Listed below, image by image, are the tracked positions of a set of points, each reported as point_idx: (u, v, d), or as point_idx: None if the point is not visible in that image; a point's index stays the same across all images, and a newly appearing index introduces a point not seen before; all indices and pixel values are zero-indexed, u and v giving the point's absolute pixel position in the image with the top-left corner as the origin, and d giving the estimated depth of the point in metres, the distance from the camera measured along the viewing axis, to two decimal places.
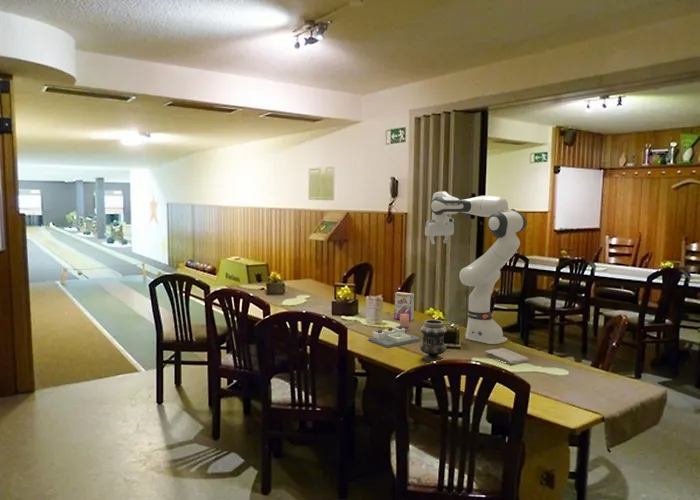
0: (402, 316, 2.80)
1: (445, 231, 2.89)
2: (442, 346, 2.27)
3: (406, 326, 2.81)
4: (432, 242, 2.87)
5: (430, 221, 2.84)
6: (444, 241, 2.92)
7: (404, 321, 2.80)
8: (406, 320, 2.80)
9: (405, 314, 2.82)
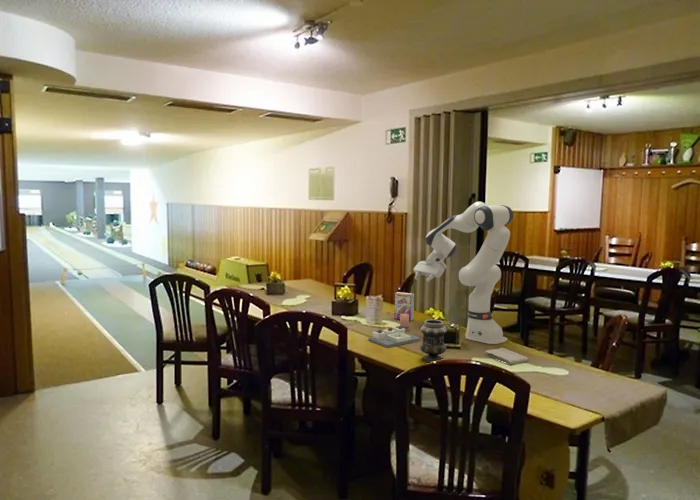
0: (402, 316, 2.80)
1: (429, 269, 2.86)
2: (442, 346, 2.27)
3: (406, 326, 2.81)
4: None
5: (423, 261, 2.97)
6: None
7: (404, 321, 2.80)
8: (406, 320, 2.80)
9: (405, 314, 2.82)
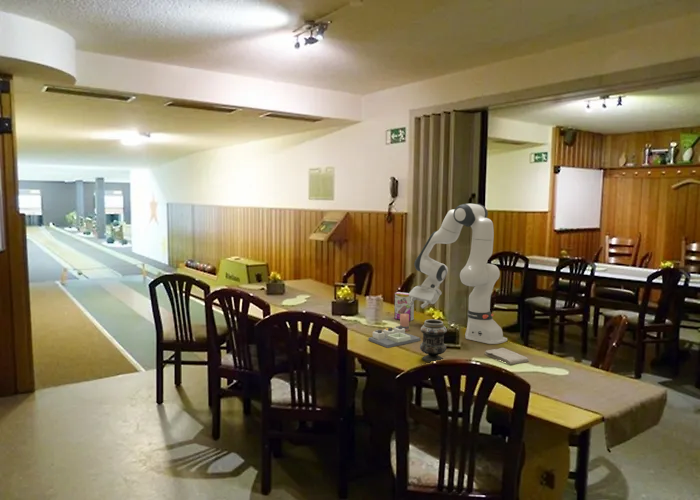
0: (402, 316, 2.80)
1: (424, 295, 2.86)
2: (442, 346, 2.27)
3: (406, 326, 2.81)
4: None
5: (419, 286, 2.97)
6: None
7: (404, 321, 2.80)
8: (406, 320, 2.80)
9: (405, 314, 2.82)
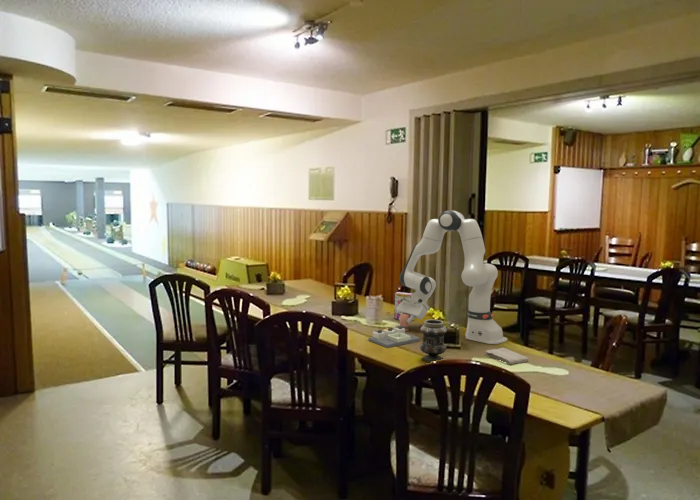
0: (402, 316, 2.80)
1: (411, 310, 2.81)
2: (442, 346, 2.27)
3: (406, 326, 2.81)
4: None
5: (406, 300, 2.92)
6: None
7: (404, 321, 2.80)
8: None
9: (405, 314, 2.82)
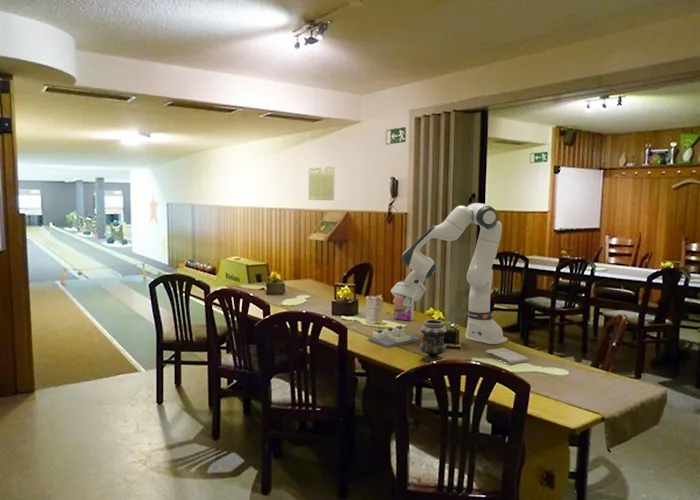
0: (396, 298, 2.58)
1: (407, 291, 2.59)
2: (442, 346, 2.27)
3: (401, 309, 2.59)
4: None
5: (402, 281, 2.70)
6: None
7: (398, 303, 2.58)
8: None
9: (400, 296, 2.60)
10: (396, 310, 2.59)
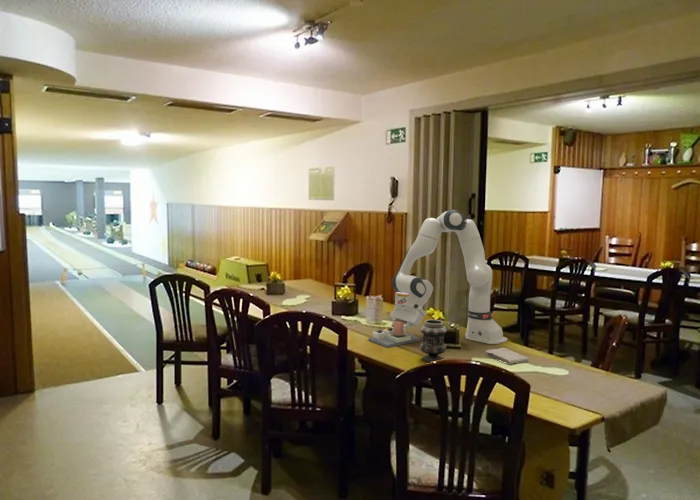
0: (396, 324, 2.56)
1: (406, 316, 2.58)
2: (442, 346, 2.27)
3: (400, 335, 2.57)
4: None
5: (401, 305, 2.69)
6: None
7: (398, 329, 2.56)
8: (400, 328, 2.56)
9: (399, 321, 2.58)
10: (396, 336, 2.57)
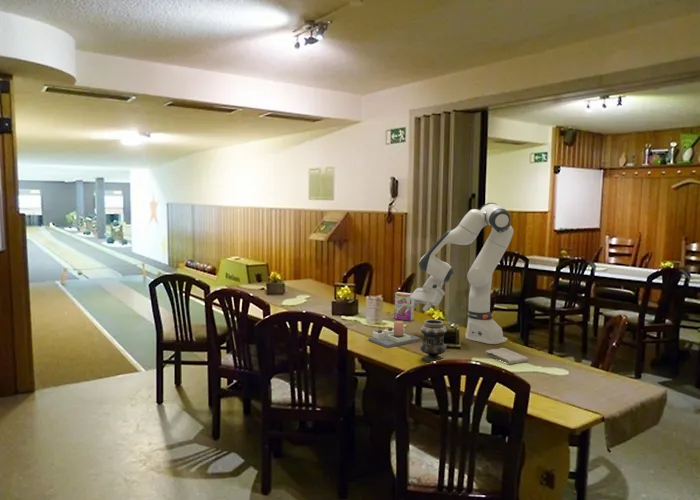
0: (396, 324, 2.57)
1: (426, 297, 2.64)
2: (442, 346, 2.27)
3: (400, 335, 2.57)
4: None
5: (420, 287, 2.76)
6: None
7: (398, 329, 2.56)
8: (400, 328, 2.56)
9: (399, 321, 2.58)
10: (396, 336, 2.57)
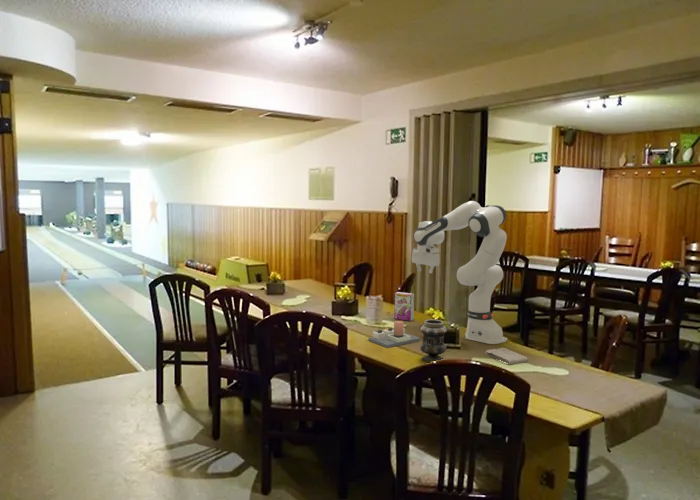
0: (396, 324, 2.57)
1: (426, 260, 2.89)
2: (442, 346, 2.27)
3: (400, 335, 2.57)
4: None
5: (415, 249, 2.97)
6: None
7: (398, 329, 2.56)
8: (400, 328, 2.56)
9: (399, 321, 2.58)
10: (396, 336, 2.57)
